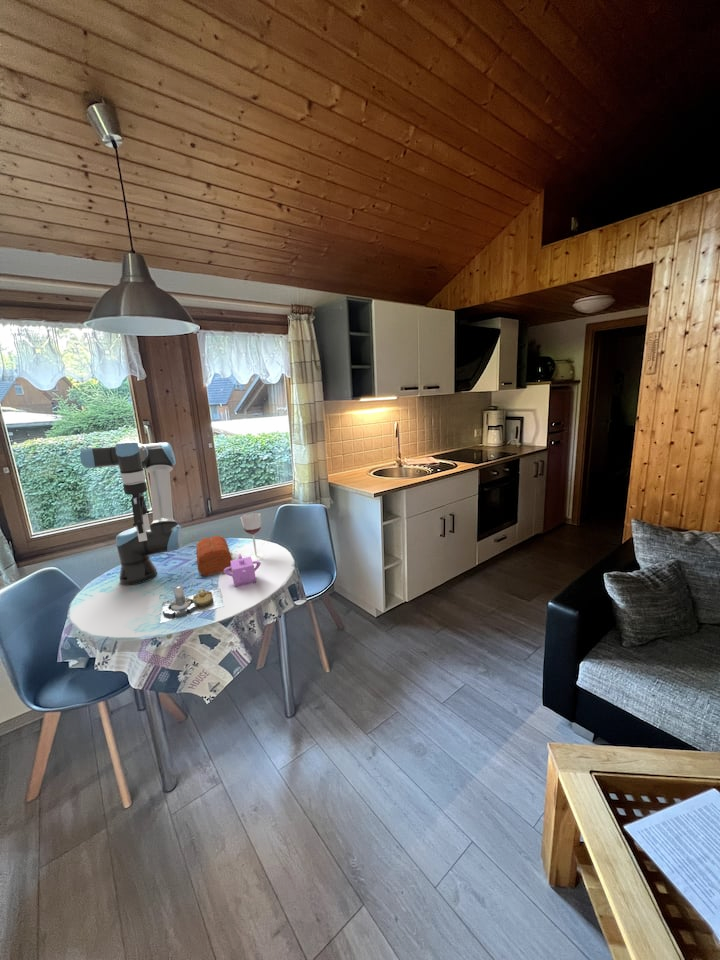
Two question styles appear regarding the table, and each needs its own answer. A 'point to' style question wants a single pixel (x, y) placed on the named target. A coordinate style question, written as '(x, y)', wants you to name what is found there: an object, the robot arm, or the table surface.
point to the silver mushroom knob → (180, 599)
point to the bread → (212, 555)
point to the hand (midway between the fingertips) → (145, 535)
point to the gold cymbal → (203, 598)
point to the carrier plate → (190, 607)
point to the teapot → (243, 570)
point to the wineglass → (252, 530)
